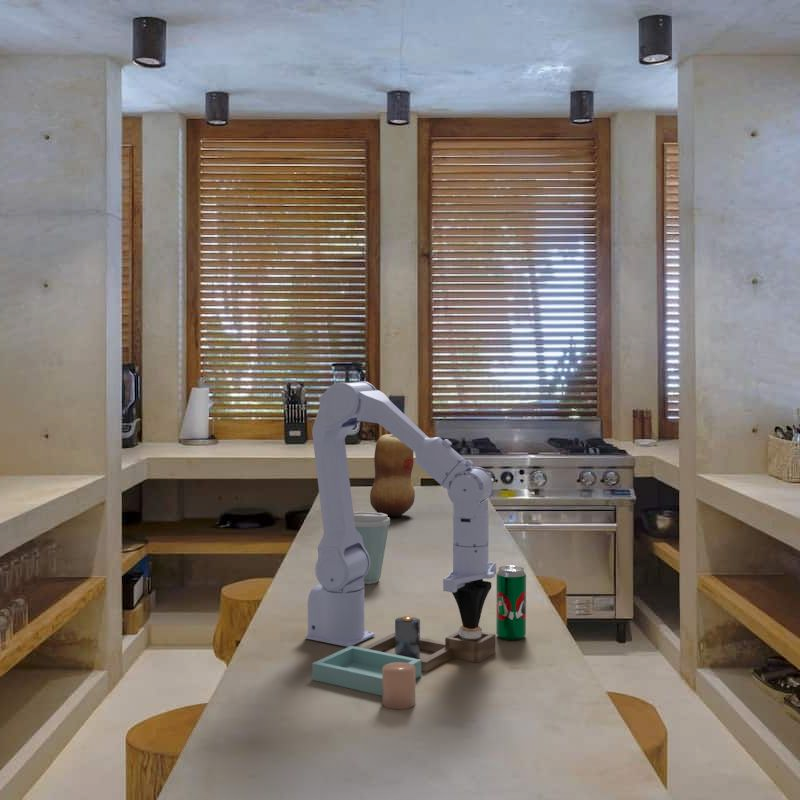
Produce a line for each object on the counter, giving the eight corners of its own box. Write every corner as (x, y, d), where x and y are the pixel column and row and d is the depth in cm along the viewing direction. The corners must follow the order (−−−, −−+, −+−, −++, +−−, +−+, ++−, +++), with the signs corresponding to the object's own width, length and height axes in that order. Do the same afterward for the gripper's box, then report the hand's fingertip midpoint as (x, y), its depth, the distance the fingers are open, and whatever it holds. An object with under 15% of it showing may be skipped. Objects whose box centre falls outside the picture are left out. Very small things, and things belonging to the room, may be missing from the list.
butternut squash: (398, 522, 271) (398, 437, 270) (361, 517, 278) (361, 435, 277) (423, 515, 283) (423, 433, 282) (387, 511, 290) (387, 432, 289)
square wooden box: (445, 656, 149) (445, 637, 149) (463, 646, 154) (463, 628, 154) (478, 662, 146) (478, 644, 146) (495, 652, 151) (495, 634, 151)
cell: (390, 658, 148) (390, 618, 148) (403, 651, 152) (403, 613, 151) (411, 662, 146) (411, 622, 146) (424, 655, 150) (424, 616, 149)
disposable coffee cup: (348, 574, 206) (348, 507, 205) (395, 576, 204) (395, 508, 203) (335, 585, 196) (335, 515, 195) (385, 588, 194) (385, 516, 193)
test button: (455, 644, 149) (455, 627, 149) (466, 639, 153) (466, 622, 152) (475, 648, 148) (475, 631, 147) (485, 642, 151) (485, 625, 150)
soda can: (523, 632, 162) (523, 564, 161) (528, 641, 157) (528, 571, 156) (494, 632, 162) (494, 564, 161) (498, 641, 157) (498, 571, 156)
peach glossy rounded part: (376, 704, 128) (375, 669, 128) (394, 694, 132) (393, 660, 132) (404, 711, 126) (404, 675, 126) (421, 700, 130) (421, 665, 130)
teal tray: (312, 679, 138) (312, 663, 138) (351, 661, 147) (351, 645, 147) (384, 696, 132) (384, 679, 131) (421, 676, 140) (421, 659, 140)
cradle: (359, 658, 148) (359, 648, 148) (394, 641, 157) (394, 632, 157) (426, 671, 142) (426, 662, 142) (458, 653, 150) (458, 644, 150)
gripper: (471, 554, 141) (471, 642, 142) (512, 538, 153) (512, 619, 154) (431, 549, 145) (431, 635, 145) (474, 534, 157) (474, 613, 158)
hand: (470, 626), depth 150 cm, fingers closed
